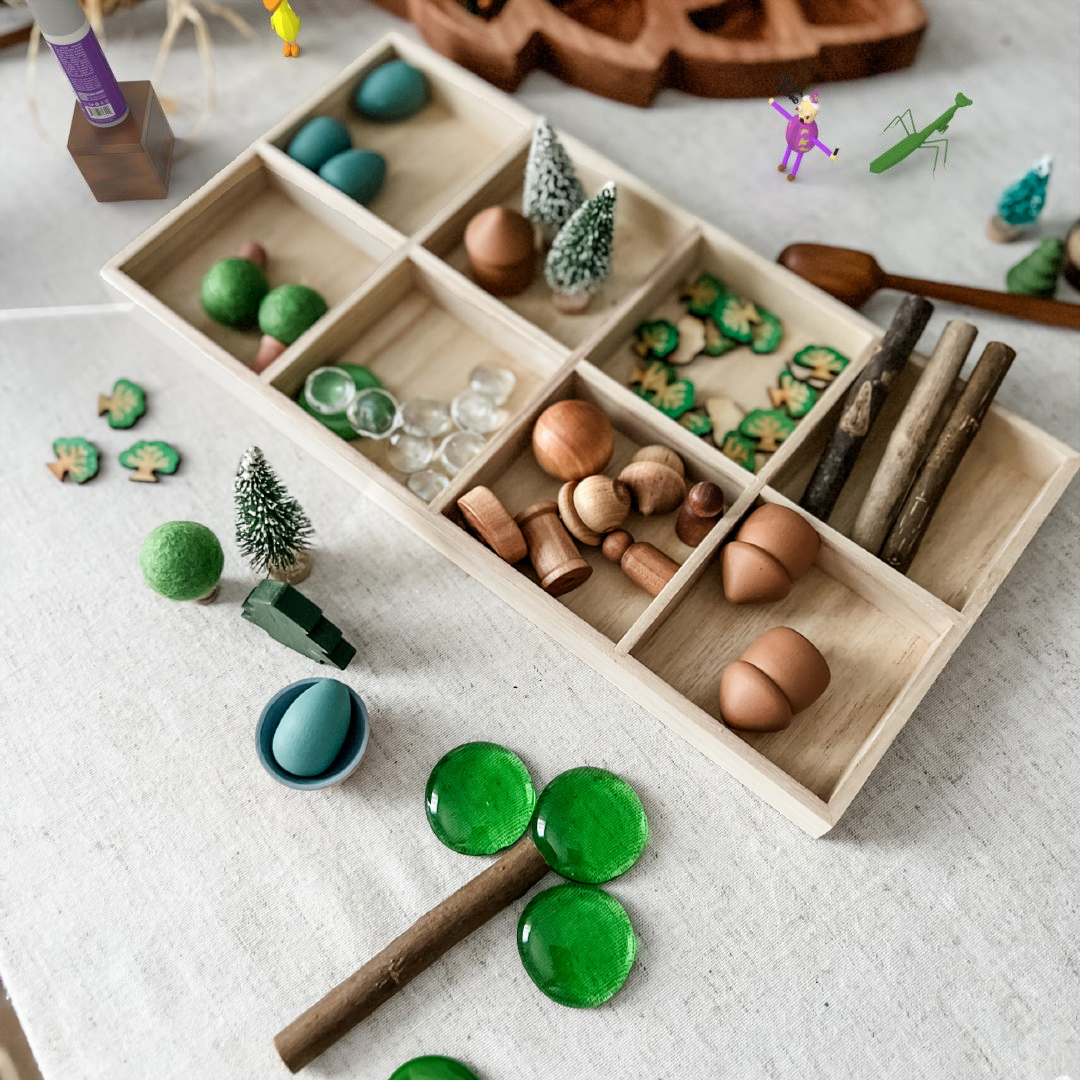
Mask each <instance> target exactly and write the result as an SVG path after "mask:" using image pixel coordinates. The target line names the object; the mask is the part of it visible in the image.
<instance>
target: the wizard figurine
mask: <svg viewBox="0 0 1080 1080" xmlns="http://www.w3.org/2000/svg"><path fill="white" fill-rule="evenodd" d="M780 80H782V82H784V84H785V85H787V87H788V88H790V87H792V89H791V90H792V91H793V92H794V93H797V92H798V89H799V86H798V85H797V84H796V83H794V84H793V80H791V78H789V77H787V76H786V75H785V73H783V72H780ZM792 84H793V85H792ZM776 87H777V90H779V92H781V94H782V95H784V96H785V97H788V100H789V101H791V103H793V104H794V105H797V104H798V103H799V98H798V97H797V96H795V94H792V92H791V91H789V89H788V88H787V87H786V86H783V84H780V82H777V86H776ZM803 91H804V90H803V89H802V90H800V91H799V92H798V94H797V95H798V96H799V95H800V98H801V99H802V100H801V102H800V104H798V105H797V107H795V109H794V110H795V111H797V113H796V114H795V115H793V116H792V114H790V113H789V112H788V111H787V110H785V109H784V108H783V107H782V106H781V105H780V104H779V103H778V102H776V100H775V98H773V97H770V98H769V99H768V104H769V106H770V107H773V108H774V109H775V110H776V111H777V112H779V113H780V115H782V116H783V117H784V118H785V119H786V120H787V121H788V122H787V124H786V127H785V131H784V133H785V135H784V136H785V141H786V144H787V145H786V150H785V153H784V156H783V159H782V161H781V164H779V165H778V167H777V170H778V171H779V172H783V171H785V170H786V169H787V166H788V162H789V160H790V156H791V154H792V151H793V152H794V153H797V155H796V158H795V161H794V164H793V166H792V169H791V173H788V174H787V176H786V180H787V181H789V182H792V181H794V180H795V179H796V177H797V174H798V171H799V168H800V164H801V162H802V160H803V156H804V154H806V153H808V152H810V151H811V150H813V148H814V147H815V146H816V147H817V148H819V150H821V151H822V152H823V153H824V154H825V155H827V156H828V157H829V158H830V160H831V161H832V162H835V161H837V159H838V153H839V150H840V148H841V144H840V143H838V144H836V146H835V149H834V151H832V150H830V149H829V148H828V147H827V146H826V145H825V144H823V142H821V141H820V140H819V139H818V138H819V127H818V124H817V122H816V120H815V118H816V117H817V115H818V114H819V113H820V111H821V109H822V105H821V104H820V103H819V102H818V101H819V95H818V94H819V88H816V90H815V91H814V92H813V93H812V94H811V95H810V94H809V95H808V94H807V95H804V96H803V93H804V92H803ZM787 92H788V93H787Z"/></svg>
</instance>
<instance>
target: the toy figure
mask: <svg viewBox="0 0 1080 1080" xmlns="http://www.w3.org/2000/svg"><path fill="white" fill-rule="evenodd" d="M262 1H263V4H264V7H265V8H266V9H267V10H268V11H269V12H273V15H271V16H270V23H271V29H272V31H274V29H275V32H276V34H277V36H278V37H279V38H281V39H282V40H283V41H284V42H285V45H284V46H283V47H282V51H283V56H284V57H289V56H290V55H292V58H297V57H298V55H300V49H299V47H300V46H299V44H297V41H296V39H297V37H298V34H299V32H300V30H301V26H302V21H301V17H300V16H296V15H297V14H296V12H295V11H293V10H292V8H291V6H290V4H289V3H288V0H262ZM289 42H292V43H289ZM292 44H293V45H292Z"/></svg>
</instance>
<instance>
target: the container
mask: <svg viewBox="0 0 1080 1080" xmlns="http://www.w3.org/2000/svg"><path fill="white" fill-rule="evenodd" d="M25 1H26V3H27V5H28V8H29V10H30V12H31V14H32V16H33V18H34V20H35V21H36V25H37V26H38V28H39V30H40V32H41V34H42V36H43V38H44V40H45V42H46V44H47V45H48V47H49V49H50V52H51V53H52V55H53V57H54V58H55V61H56V63H57V65H58V67H59V68H60V70H61V72H62V74H63V76H64V78H65V79H66V81H67V83H68V85H69V87H70V89H71V91H72V93H73V95H74V97H75V100H76V99H77V101H78V102H79V104H80V106H81V108H82V110H83V112H84V114H85V116H86V117H87V119H88V121H89V122H90V123H91V124H92V125H94V126H97V127H111V126H115V125H117V124H119V123H121V122H122V121H123V120H125V118H126V117H127V116H128V113H129V106H128V104H127V102H126V100H125V97H124V95H123V93H122V91H121V89H120V87H119V85H118V82H119V81H117V78H116V76H115V74H114V73H113V72H114V71H113V70H112V68H111V65H110V63H109V61H108V59H107V57H106V55H105V53H104V50H103V49H102V46H101V44H100V42H99V40H98V38H97V36H96V34H95V31H94V30H93V29H94V28H92V24H91V23H90V21H89V19H88V17H87V15H86V13H85V11H84V9H83V7H82V5H81V3H80V1H79V0H25Z"/></svg>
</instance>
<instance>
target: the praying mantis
mask: <svg viewBox="0 0 1080 1080" xmlns="http://www.w3.org/2000/svg"><path fill="white" fill-rule="evenodd" d="M954 102H955V104H954V105H953V106H950V107H949V108H948V109H947V110H946V111H944V112H943V113H942V114H941V115H940V116H939V117H937V118H936V119H935V120H934V121H933V122H931V123H930V124H929V125H927V126H925V127H924V128H923V129H922V130H921V131H920V132H917V131H916V127H915V124H914V123H915V122H914V119H913V114H912V110H911V108H908V109H906V111H905V112H904V113H903V114H902V116H900V115H899V114H898V115H897V116H895V117H894V118H893V120H892V121H890V123H889V124H888V125H887V126H886V128H885V129H884V130H883V131H882V133H886V131H887V130H888V128H890V126H891V125H892V124H893V123H894V122H895V121H896V120H897V118H898V120H897V121H896V122H895V124H894V125H893V127H892V128H894V127H895V126H897V124H898V123H899V122H901V124H902V127H903V128H904V130H905V132H906V135H907V136H906V137H905V138H903V139H902V140H900V141H899V142H897V143H896V144H895V145H894V146H891V147H890V148H889V149H888V150H886V151H885V152H884V153H882V154H881V155H880V156H879V157H877V158H876V159H874V160H872V162H870V163H869V173H872V174H878V175H880V174H882V173H883V172H885V171H887V170H888V169H890V168H892V167H894V166H896V165H897V164H899V163H900V162H902V161H903V160H904V159H906V158H907V157H908V156H910V155H911V154H912V153H914V152H915V151H916V150H918V149H932V148H935V149H936V154H935V159H934V164H933V165H934V166H933V170H932V172H933V174H932V178H933V179H935V177H934V175H935V171H936V168H937V161H938V154H939V150H940V146H938V145H926V144H931V143H937V142H943V141H945V143H946V144H945V151H944V159H943V160H944V161H943V163H944V164H943V168H944V169H945V171H947V169H946V167H945V166H946V161H947V154H948V146H949V145H948V144H949V139H948V138H941V139H935V140H929V141H926V140H927V139H929V137H930V136H931V135H932V134H933V133H934V132H935V131H937V133H939V134H940V135H943V134H944V133H945V132H946V131H947V130H948V129H949V128H950V125H949V123H950V121H951V120H952V119H953V118H954V116H955V113H956V111H957V110H958V109H959V108H965V107H967V106H968V107H969V106H972V105H973V104H974V103H973V102H974V101H973V99H969V98H968V97H967V96H965V95H964V94H963V92H961V91H959V92H957V93H956V96H955V97H954ZM907 113H908V114H909V117H910V121H911V125H912V128H913V133H909V130H908V129H907V127H906V124H905V122H904V120H903V118H904V116H905V115H906V114H907ZM882 133H880V134H879V136H880V135H882ZM925 145H926V146H925Z"/></svg>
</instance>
